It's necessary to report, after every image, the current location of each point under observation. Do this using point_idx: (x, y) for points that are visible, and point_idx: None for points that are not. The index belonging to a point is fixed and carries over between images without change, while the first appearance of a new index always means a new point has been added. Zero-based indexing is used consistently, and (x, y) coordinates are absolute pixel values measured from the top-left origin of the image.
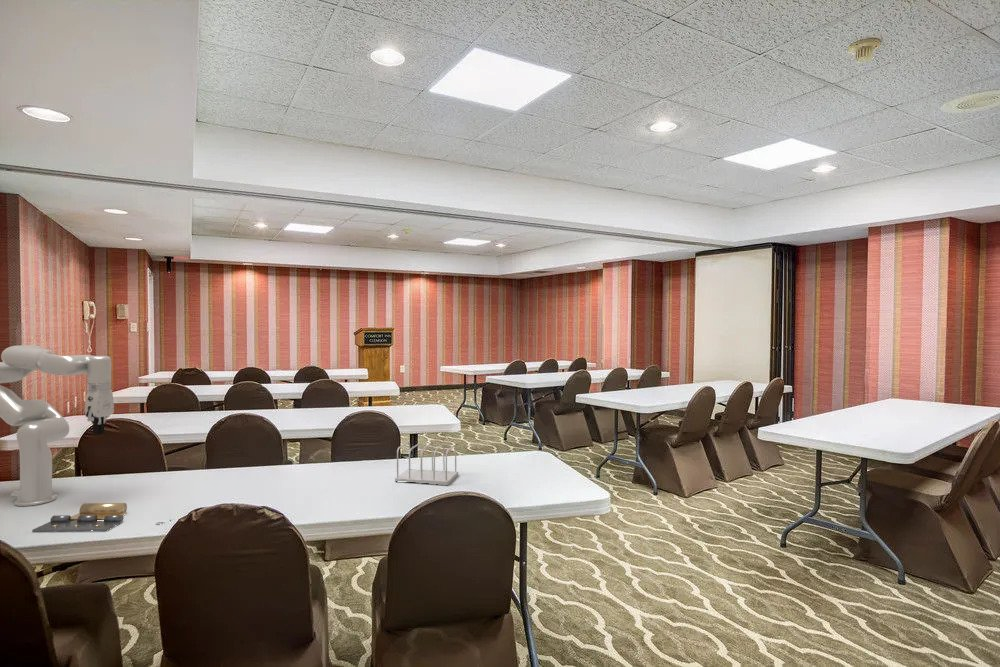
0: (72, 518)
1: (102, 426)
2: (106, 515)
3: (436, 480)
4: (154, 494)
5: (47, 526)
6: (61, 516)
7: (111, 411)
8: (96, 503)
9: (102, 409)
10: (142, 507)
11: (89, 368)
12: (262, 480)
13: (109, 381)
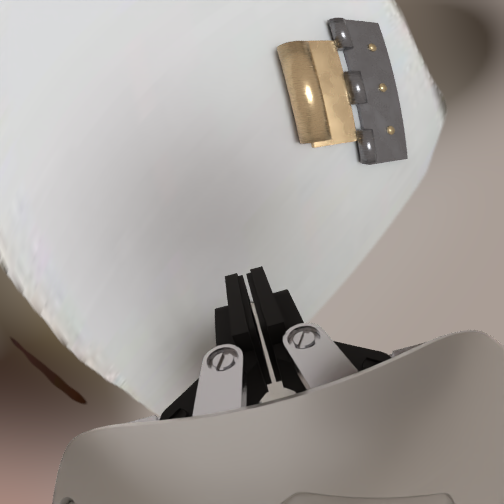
0: (353, 129)
1: (263, 308)
2: (349, 45)
3: None
4: (125, 106)
5: (392, 144)
6: (373, 141)
7: (115, 468)
8: (316, 106)
9: (457, 474)
10: (231, 43)
11: None
12: (13, 4)
13: None
